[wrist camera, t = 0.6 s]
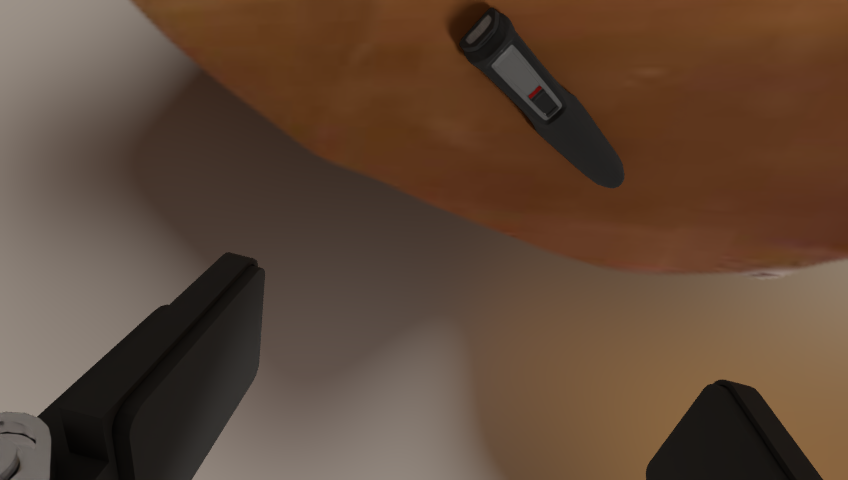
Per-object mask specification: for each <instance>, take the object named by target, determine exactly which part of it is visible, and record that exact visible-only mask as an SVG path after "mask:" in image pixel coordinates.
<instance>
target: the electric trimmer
mask: <svg viewBox="0 0 848 480" xmlns="http://www.w3.org/2000/svg"><path fill="white" fill-rule="evenodd" d="M460 46H461V48H462V49H463V50H464V54H465V56H466V58H467V59H468V61H469V62H470V63H471V64H473V65H474V66H476V67H477V68H479V69H480V70H481V71H482V72H483V73H485V74H486V75H487V76H488V77H489V78H490V79H491V80H492V81H493V82H494V83H495V84H496V85H497V86H498V87H499V88H500V89H501V90H502V91H503V92H504V93H505V94H506V95H507V96H508V97H509V98H510V99H511V100H512V101H513V102H514V103H515V104H516V105H517V106H518V107H519V108H520V109H521V110H522V111H523V112H524V113H525V114H526V116H527V117H528V118H529V119H530V121H531V122H532V123H533V125H534V127H535V130H536V131H537V132H538V133H539V134H540V135H541V136H542V137H543V138H544V139H545V140H546V141H547V142H548V143H549V144H551V145H552V146H553V147H554V148H555V149H556V150H557V151H559V152H560V153H561V154H562V155H563V156H564V157H565V158H566V159H568V160H569V161H570V162H571V163H572V164H573V165H574V166H575V167H577V168H578V169H579V170H580V171H581V172H582V173H583V174H584V175H586V176H587V177H588V178H590V179H591V180H592V181H594V182H595V183H596V184H598V185H601V186H604V187H608V188H616V187H618V186H620V185H621V184H622V182H623V180H624V170H623V164H622V162H621V160H620V158H619V156H618V155H617V153H616V152H615V151H614V149H613V148H612V146H611V145H610V144H609V142H608V141H607V139H606V138H605V137H604V135H603V134H602V132H601V131H600V129H599V128H598V127H597V125H596V124H595V122H594V121H593V120H592V118H591V117H590V115H589V114H588V112H587V111H586V110H585V108H584V107H583V106H582V104H581V103H580V102H579V101H578V99H577V98H576V97H575V96H574V95H572V94H570V93H568V92H567V91H566V90H565V89H564V88H563V87H562V86H561V85H559V83H558V82H557V81H556V80H555V79H554V78H553V77H552V75H551V74H550V73H549V72H548V71H547V70H546V68H545V67H544V66H543V65H542V64H541V63H540V61H539V60H538V59H537V58H536V56H535V55H534V54H533V53H532V51H531V50H530V49H529V48H528V46H527V45H526V44H525V43H524V41H523V40H522V39H521V38H520V36H519V35H518V34H517V33H516V31H515V29H514V27H513V25H512V23H511V21H510V19H509V18H508V17H507V16H505V15H504V14H502V13H498V12H497V11H496V10H495V9H494V8H490V9H488V10H487V11H486V13H485V14H484V15H483V16H482V17H481V18H480V19H479V20H478V21H477V23H476V24H475V25H474V26H473V27H472V28H471V29H470V30H469V31H468V33H467V34H466V35H465V36H464V37H463V38H462V39H461V41H460ZM558 102H559V103H558ZM544 117H545V118H544Z"/></svg>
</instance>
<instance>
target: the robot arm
mask: <svg viewBox="0 0 848 480" xmlns="http://www.w3.org/2000/svg"><path fill="white" fill-rule="evenodd" d="M264 280H265V271H264V269H263V268H260V267H258V263H257V260H255V259H253V258H249V257H245V256H241V255H237V254H233V253H230V252H228V253H225V254H224V255H223V256H221V257H220V258H219V259H218V260H217V261H216V262H215V263H214V264H213V265H212V266H211V267H210V268H208V270H207V271H205V272H204V273H203V274H202V275H201V276H200V277H199V278H198V279H197V280H196V281H195V282H194V283H192V284H191V285H190V286H189V287H188V288H187V289H186V290H185V291H184V292H183V293H182V294H181V295H179V297H177V298H176V299H175V300H174V301H173V302H172V303H171V304H170V305H164V306H161V307H159V308H158V309H156V310H155V311H154V312H153V313H151V314H150V315H149V316H148V317H147V318H146V319H145V320H144V321H142V322H141V323H140V324H139V325H138V326H137V327H136V328H135V329H134V330H133V331H132V332H130V333H129V334H128V335H127V336H126V337H125V338H124V339H123V340H122V341H120V342H119V343H118V344H117V345H116V346H115V347H114V348H113V349H112V350H111V351H109V352H108V353H107V354H106V355H105V356H104V357H103V358H102V359H101V360H99V361H98V362H97V363H96V364H95V365H94V366H93V367H92V368H91V369H90V370H88V371H87V372H86V373H85V374H84V375H83V376H82V377H81V378H79V379H78V380H77V381H76V382H75V383H74V384H73V385H72V386H71V387H69V388H68V389H67V390H66V391H65V392H64V393H63V394H62V395H61V396H60V397H59V398H57V399H56V400H55V401H54V402H53V403H52V404H51V405H50V406H48V408H46V409H45V410H44V411H43V412H42V413H41V414H40V415H39V416H37V417H35V416H32V415H29V414H27V413H18V412H2V413H0V480H192V478H193V477H194V475H195V473H196V472H197V470H198V469H199V467H200V465H201V464H202V462H203V460H204V459H205V457H206V456H207V454H208V453H209V451H210V449H211V448H212V446H213V445H214V443H215V441H216V440H217V438H218V437H219V435H220V433H221V432H222V430H223V429H224V427H225V425H226V424H227V422H228V420H229V419H230V417H231V416H232V414H233V412H234V411H235V409H236V408H237V406H238V404H239V403H240V401H241V400H242V398H243V396H244V395H245V393H246V392H247V390H248V388H249V387H250V385H251V384H252V382H253V380H254V378H255V376H256V373H257V370H258V366H259V356H260V341H261V325H262V310H263V295H264ZM646 480H823V479H822V478H821V476H820V475H819V474H818V472H817V471H816V470H815V468H814V467H813V465H812V464H811V463H810V461H809V460H808V459H807V457H806V456H805V455H804V453H803V452H802V451H801V449H800V448H799V447H798V445H797V444H796V442H795V441H794V440H793V438H792V437H791V436H790V434H789V433H788V432H787V431H786V429H785V427H784V426H783V425H782V423H781V422H780V421H779V420H778V418H777V417H776V415H775V414H774V413H773V411H772V410H771V408H770V407H769V406H768V404H767V403H766V402H765V400H764V399H763V398H762V396H761V395H760V394H759V393H758V392H757V390H756V389H754V388H752V387H750V386H747V385H743V384H739V383H735V382H731V381H727V380H718V381H716V382H715V383H714V384H710V385H707V386H706V387H705V388H704V389H703V391H702V392H701V393H700V395H699V396H698V397H697V399H696V400H695V402H694V403H693V404H692V405H691V407H690V408H689V410H688V411H687V412H686V414H685V415H684V416H683V418H682V419H681V421H680V422H679V423H678V424H677V426H676V427H675V428H674V430H673V431H672V433H671V434H670V435H669V437H668V438H667V439H666V441H665V442H664V443H663V445H662V446H661V448H660V449H659V450H658V452H657V453H656V454H655V456H654V457H653V458H652V460H651V461H650V462H649V464H648V466H647V469H646Z"/></svg>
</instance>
